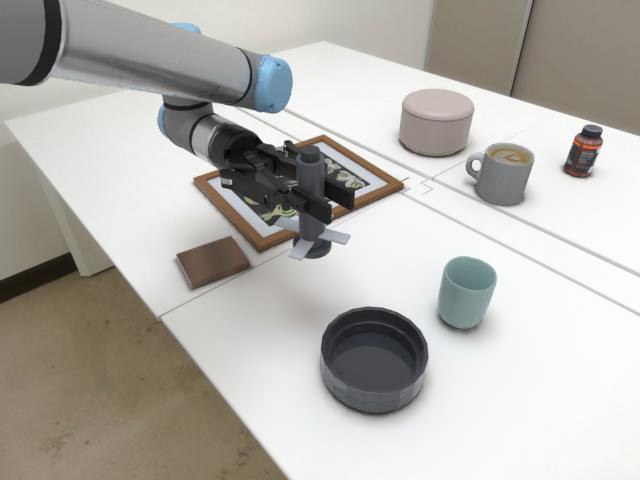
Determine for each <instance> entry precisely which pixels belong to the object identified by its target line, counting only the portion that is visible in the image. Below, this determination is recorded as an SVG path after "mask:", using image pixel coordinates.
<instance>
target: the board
mask: <svg viewBox="0 0 640 480" xmlns="http://www.w3.org/2000/svg"><path fill="white" fill-rule="evenodd" d="M175 255H176V259H177V260H176V261H177V262H178V264H179V266H180V267H181V269H182V272H183V273H184V275H185V277H186V279H187V281H188V284H189V286H190V287H191V290H195V289H197V288H200V287H202V286H206V285H208V284H210V283H213V282H216V281H218V280H221V279H224V278H226V277H229V276H232V275H234V274H237V273H240V272H243V271H246V270H248V269H251V262H250V261H249V259H248V258H247V256H246V255H245V253H244V251H243V250H242V249H241V248H240V246H239V245H238V243H237V241H236V240H235V238H234V237H233V236H232V235H228V236H225V237H222V238H219V239H217V240H213V241H211V242H207V243H204V244H202V245H199V246H196V247H194V248H190V249H187V250H184V251H181V252H179V253H178V252H177V253H176V254H175Z"/></svg>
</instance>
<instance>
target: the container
mask: <svg viewBox="0 0 640 480" xmlns="http://www.w3.org/2000/svg"><path fill="white" fill-rule="evenodd" d="M475 109H476V108H475V104H474V102H473V100H471V98H470V97H468V96H467V95H465V94H463V93H461V92H457V91H454V90H450V89H445V88H423V89H417V90H414V91H411V92H410V93H408V94H407V95H405V97H404V98H403V100H402V102H401V110H400V111H401V112H400V122H399V130H398V139H399V140H400V142H401V143H402V145H404V146H405V147H406V148H408V149H409V150H410V151H412V152H414V153H417V154H419V155H423V156H429V157H444V156H450V155H453V154H455V153H457V152H458V151H460V150H462V149H464V148H465V147H466V146H467V144H468V139H469V135H470V131H471V126H472V123H473V118H474V113H475Z"/></svg>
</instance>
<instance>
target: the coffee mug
mask: <svg viewBox="0 0 640 480" xmlns="http://www.w3.org/2000/svg"><path fill="white" fill-rule="evenodd" d="M476 160H477V161H479V163H480V168H479V169H478V170H476V169H474V168H473V162H474V161H476ZM535 161H536V155H535V153H534V152H533V151H532V150H531V149H530V148H528V147H525V146H524V145H521V144H517V143H512V142H496V143H495V142H494V143H491V144H489V145H488V146H487V147H486V149H485V151H484V152H480V151H479V152H477V151H476V152H472V153H470V154H469V156H468V157H467V159H466V162H465V171H466V173H467V175H468V176H470V177H471V178H472V179H474V180H475V181H476V188H475V189H476V190H475V191H476V194H477V196H478V197H479V198H480V199H482V200H483V201H484V202H485V201H486V202H487V203H490V204H492V205H495V206H496V205H497V206H513V205H516V204H519V203H520V202H521V201H522V200H523V198H524V195H525V194H524V193H525V190H526V187H527V185H528V182H529V179H530V175H531V173H532V169H533V166H534V163H535Z"/></svg>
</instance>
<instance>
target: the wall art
mask: <svg viewBox="0 0 640 480" xmlns="http://www.w3.org/2000/svg"><path fill="white" fill-rule="evenodd" d="M293 144H294V145H295V146H297V147H298V148H300V149H301V148H302V147H303V146H306V145H314V146H317V147H319V149H320V153H321V154H322V155H323V156H324V158H325V162H326V163H328V176H330V177H332V178H334V179H335V180H338V181H339V182H340V184H342V185H344V186H346V187H348V188H350V189H352V190H354V191H355V202H354V209H352V210H351V211H350V210H348V209H346V208H344V207H342V206H341V205H339V204H337V203H335V202H333V201H331V200H329V199H327V198H326V197H325V202H327V203H329V204H331V205H332V214H333V218H332V221H333V220H336V219H338V218H340V217H342V216H344V215H346V214H347V215H348V214H350V213H351V212H353V211H356V210H358V209H360V208H362V207H365V206H367V205H370V204H372V203H374V202H377V201H379V200H381V199H383V198H385V197H388V196H390V195H392V194H394V193H396V192H398V191H401V190H403V189H404V186H405V183H404V182H402V181H401V180H399V179H397V178H396V177H394V176H393V175H391V174H389V173H388V172H386V171H385V170H383V169H381V168H380V167H378V166H376V165H375V164H373V163H372V162H370V161H368V160H366V159H365V158H364V157H362V156H361V155H359V154H357V153H355V152H354V151H352V150H351V149H349V148H347V147H346V146H345V145H342V144H341V143H339V142H337V141H336V140H334V139H333V138H331V137H329V136H328V135H326V134H324V133H323V134H320V135H317V136H314V137H311V138H308V139H305V140H303V141H299V142H296V143H293ZM276 177H277V176H276ZM277 178H278V179H280V180H281V181H282V182H283V183H285V184H286V185H287V186H288V187H289V190H290V191H291V187H293V186H295V185H296V186H297V180H294V179H291V178H288V177H286V176H283V175H281V176H279V177H277ZM192 181H193V184H194V185H195V186H196V187H197V188H198V189H199V190H200V191H201V192H202V193H203V194H204V195H205V196H206V197H207V198H208V199H209V200H210V201H211V202H212V204H214V205H215V207H216V208H218V210H219V211H220V212H221V213H222V214H223V215H224V216H225V217H226V218H227V219H228V220H229V221H230V222H231V223H232V224H233V226H234V227H236V229H237V230H238V231H239V232H240V233H241V234H242V235H243V237H245V238H246V239H247V240H248V242H250V243H251V244H252V246H254V247H255V249H256V250H257V251H258V252H259V253H261V252H263V251H265V250H269V249H270V248H272V247H275V246H277V245H279V244H281V243H284V242H286V241H289V240H290V239H294V237H295V236H296V235H297V234H298V233H299V232H295V231H292V230H288V229H285V228H281V227H277V226H275V225H274V224H275V222H276V221H277V220H278V219H279V218H280V217H281V216H282V217H286V218H289V219H293V220H297V221H299V215H298V211H296V210H294V209H293V208H291V207H290V209H289V210H287V211H284V210H282V205H281V204H280V205H276V206H277V207H276V209H273V210H270V209H268V208H266V207H264V206H262V205H260V204H258V203H256V202H255V201H253V200H251V199H249V198H247V197H245V196H243V195H242V194H240V193H238V192H236V191H234V190H230V189H225V188H222V187H221V181H220V175H219V170H218V169H214V170H212V171H209V172H206V173H203V174H200V175H198V176H195V177H193V178H192ZM265 197H266V196H265Z"/></svg>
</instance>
